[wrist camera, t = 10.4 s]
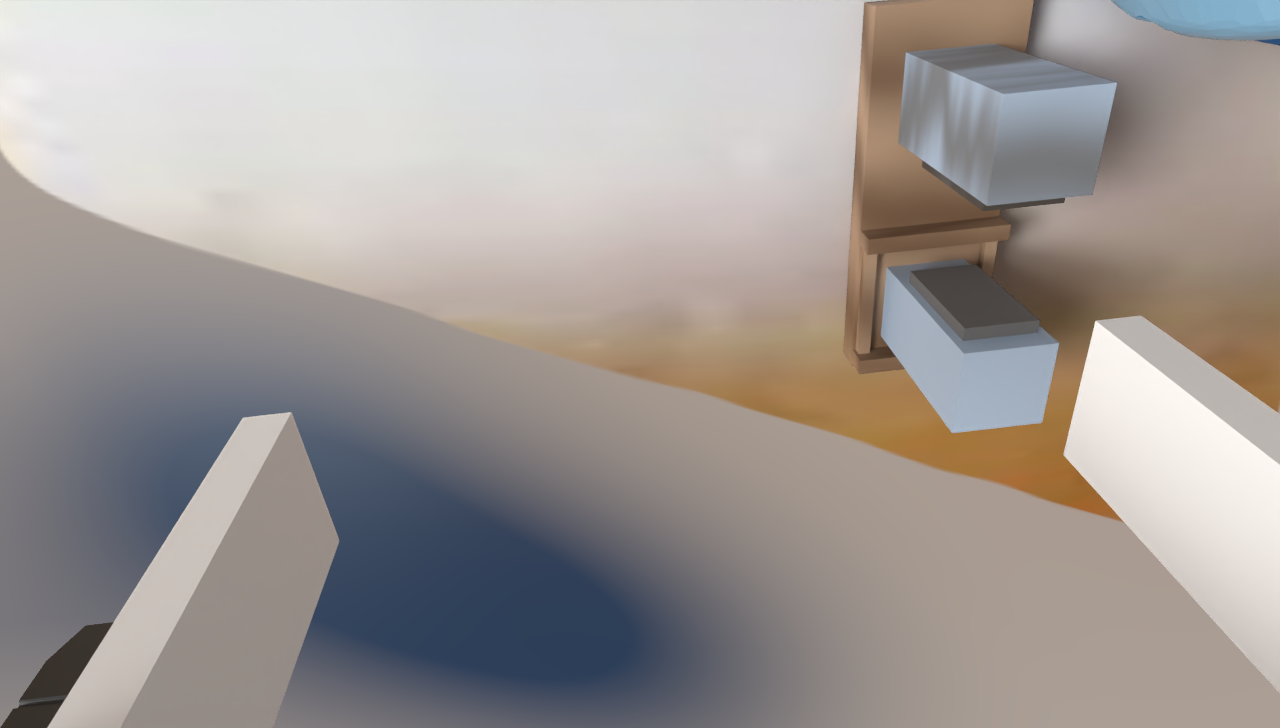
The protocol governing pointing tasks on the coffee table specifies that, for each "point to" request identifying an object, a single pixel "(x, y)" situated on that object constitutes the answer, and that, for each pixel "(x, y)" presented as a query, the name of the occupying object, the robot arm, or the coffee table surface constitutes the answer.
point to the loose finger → (968, 345)
